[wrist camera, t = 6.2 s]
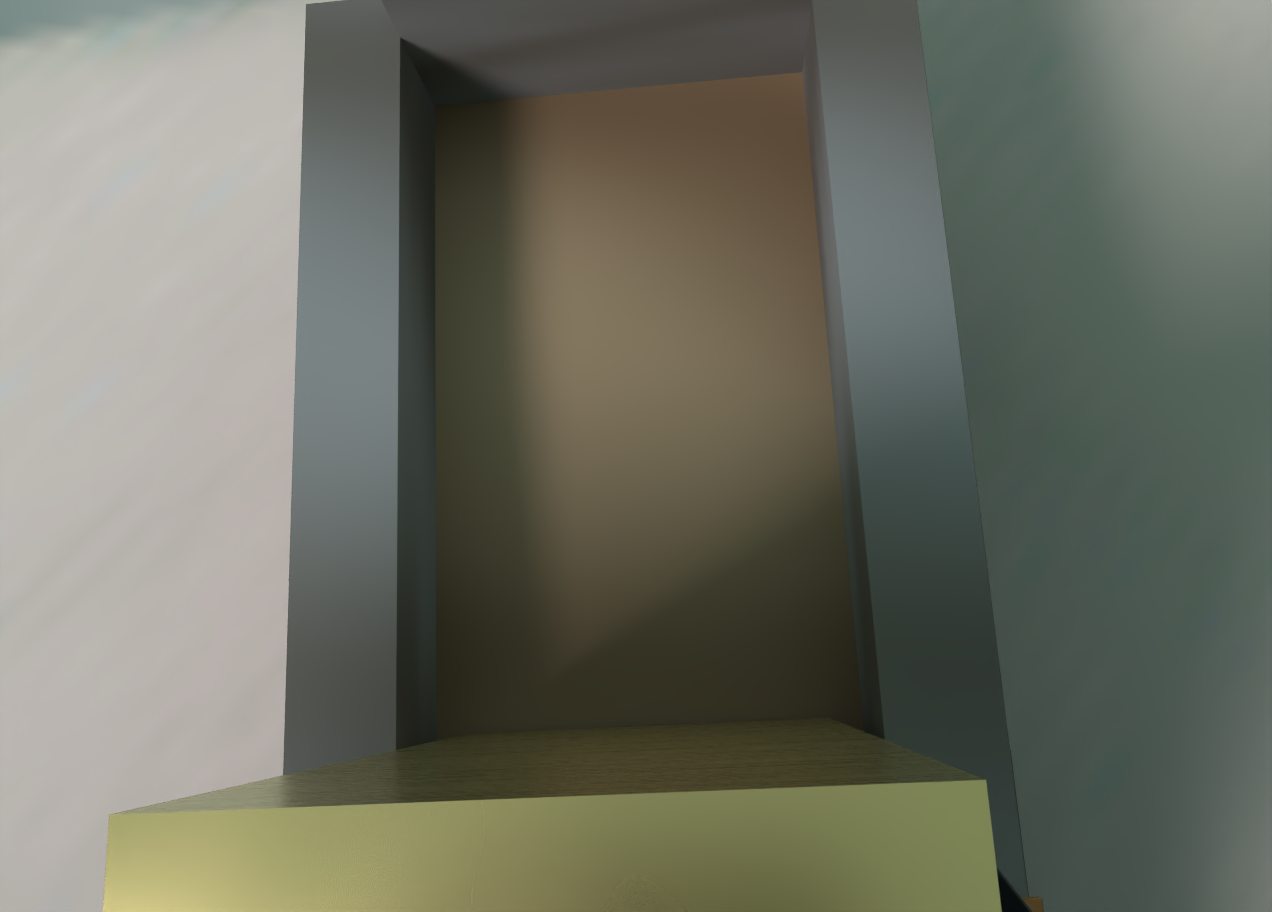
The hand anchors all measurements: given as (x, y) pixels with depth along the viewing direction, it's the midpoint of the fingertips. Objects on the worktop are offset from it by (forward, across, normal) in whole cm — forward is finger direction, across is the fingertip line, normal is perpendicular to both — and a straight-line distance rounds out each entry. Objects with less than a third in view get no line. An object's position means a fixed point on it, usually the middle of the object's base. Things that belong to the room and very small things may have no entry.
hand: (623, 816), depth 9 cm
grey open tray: (+6, 0, +5) cm, 8 cm away
